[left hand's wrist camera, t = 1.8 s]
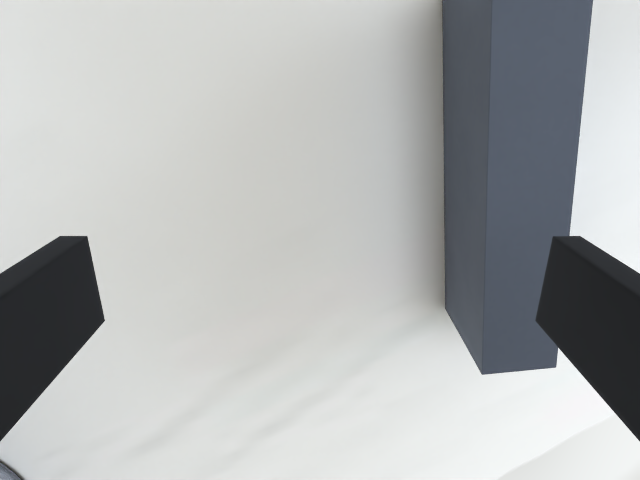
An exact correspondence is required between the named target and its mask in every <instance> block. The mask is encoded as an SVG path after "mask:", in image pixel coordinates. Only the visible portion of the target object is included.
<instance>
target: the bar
mask: <svg viewBox="0 0 640 480" xmlns="http://www.w3.org/2000/svg"><path fill="white" fill-rule="evenodd" d="M592 4H593V0H443V103H444V209H445V309H446V311H447V312H448V314H449V316H450V318H451V320H452V321H453V323H454V325H455V327H456V329H457V330H458V332H459V334H460V336H461V338H462V339H463V341H464V343H465V345H466V347H467V348H468V350H469V352H470V354H471V356H472V357H473V359H474V361H475V363H476V365H477V367H478V368H479V370H480V372H481V374H482V375H483V374H494V373H504V372H514V371H525V370H535V369H545V368H555V367H556V363H557V353H558V346H557V345H556V344H555V343H554V342H553V341H552V340H551V338H550V337H549V336H548V335H547V334H546V333H545V331H544V330H543V329H542V328H541V327H540V326H539V325H538V323H537V322H536V321H535V320H536V315H537V310H538V305H539V300H540V295H541V291H542V286H543V281H544V276H545V271H546V267H547V262H548V257H549V252H550V247H551V243H552V238H553V236H569V233H570V224H571V214H572V204H573V194H574V184H575V174H576V164H577V154H578V144H579V134H580V124H581V114H582V104H583V94H584V84H585V74H586V64H587V54H588V44H589V34H590V24H591V14H592Z"/></svg>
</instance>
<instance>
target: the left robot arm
mask: <svg viewBox="0 0 640 480" xmlns="http://www.w3.org/2000/svg"><path fill="white" fill-rule="evenodd" d="M104 321H105V320H104V315H103V310H102V305H101V300H100V295H99V291H98V286H97V281H96V276H95V271H94V267H93V262H92V257H91V252H90V247H89V243H88V238H87V236H59V237H58V238H56V239H55V240H53V241H52V242H50V243H48V244H47V245H45V246H44V247H42V248H40V249H39V250H37V251H36V252H34V253H32V254H31V255H29V256H28V257H26V258H25V259H23V260H21V261H20V262H18V263H17V264H15V265H13V266H12V267H10V268H9V269H7V270H5V271H4V272H2V273H1V274H0V441H1V440H2V439H3V438H4V436H5V435H6V434H7V433H8V432H9V431H10V429H11V428H12V427H13V426H14V425H15V424H16V423H17V421H18V420H19V419H20V418H21V417H22V416H23V414H24V413H25V412H26V411H27V410H28V409H29V408H30V406H31V405H32V404H33V403H34V402H35V401H36V399H37V398H38V397H39V396H40V395H41V394H42V393H43V391H44V390H45V389H46V388H47V387H48V386H49V385H50V383H51V382H52V381H53V380H54V379H55V378H56V376H57V375H58V374H59V373H60V372H61V371H62V370H63V368H64V367H65V366H66V365H67V364H68V363H69V361H70V360H71V359H72V358H73V357H74V356H75V355H76V353H77V352H78V351H79V350H80V349H81V348H82V346H83V345H84V344H85V343H86V342H87V341H88V340H89V338H90V337H91V336H92V335H93V334H94V333H95V331H96V330H97V329H98V328H99V327H100V326H101V325H102V323H103V322H104ZM535 321H536V322H537V323H538V325H539V326H540V327H541V328H542V329H543V330H544V331H545V333H546V334H547V335H548V336H549V337H550V338H551V340H552V341H553V342H554V343H555V344H556V345H557V346H558V348H559V349H560V350H561V351H562V352H563V353H564V355H565V356H566V357H567V358H568V359H569V360H570V361H571V363H572V364H573V365H574V366H575V367H576V368H577V370H578V371H579V372H580V373H581V374H582V375H583V376H584V378H585V379H586V380H587V381H588V382H589V383H590V385H591V386H592V387H593V388H594V389H595V390H596V391H597V393H598V394H599V395H600V396H601V397H602V398H603V399H604V401H605V402H606V403H607V404H608V405H609V406H610V408H611V409H612V410H613V411H614V412H615V413H616V414H617V416H618V417H619V418H620V419H621V420H622V421H623V422H624V424H625V425H626V426H627V427H628V428H629V429H630V431H631V432H632V433H633V434H634V435H635V436H636V438H637V439H638V440H639V441H640V274H639V273H638V272H636V271H635V270H633V269H631V268H630V267H628V266H627V265H625V264H623V263H622V262H620V261H619V260H617V259H615V258H614V257H612V256H611V255H609V254H608V253H606V252H604V251H603V250H601V249H600V248H598V247H596V246H595V245H593V244H592V243H590V242H588V241H587V240H585V239H584V238H582V237H581V236H553V238H552V243H551V247H550V252H549V257H548V262H547V267H546V271H545V276H544V281H543V286H542V291H541V295H540V300H539V305H538V310H537V315H536V320H535ZM0 480H21V479H20V478H19V477H18V476H17V475H16V474H15V473H14V472H13V471H11V470H10V469H9V468H7V467H6V466H4V465H3V464H1V463H0Z"/></svg>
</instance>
